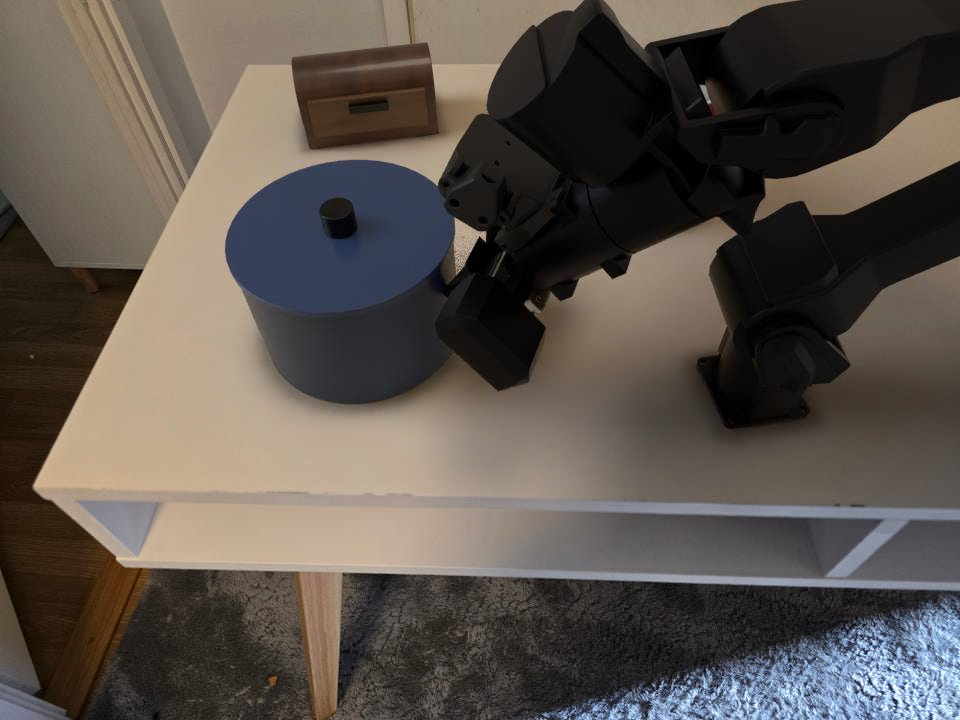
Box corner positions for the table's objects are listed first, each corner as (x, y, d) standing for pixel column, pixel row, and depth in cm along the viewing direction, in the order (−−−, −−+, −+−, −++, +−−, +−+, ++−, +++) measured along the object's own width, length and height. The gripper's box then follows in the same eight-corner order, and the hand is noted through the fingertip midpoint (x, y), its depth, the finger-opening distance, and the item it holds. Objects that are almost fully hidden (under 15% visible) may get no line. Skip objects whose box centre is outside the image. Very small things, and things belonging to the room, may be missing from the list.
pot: (474, 391, 52) (467, 276, 43) (259, 418, 51) (202, 307, 42) (451, 248, 63) (441, 129, 53) (271, 269, 62) (227, 151, 52)
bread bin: (440, 139, 73) (434, 68, 67) (309, 155, 72) (291, 84, 66) (430, 99, 78) (424, 29, 72) (308, 113, 77) (291, 44, 71)
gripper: (574, 13, 41) (420, 141, 52) (462, 204, 30) (298, 313, 41) (678, 152, 45) (516, 241, 56) (614, 361, 34) (429, 421, 45)
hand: (448, 294), depth 50 cm, fingers closed, pressing on pot
